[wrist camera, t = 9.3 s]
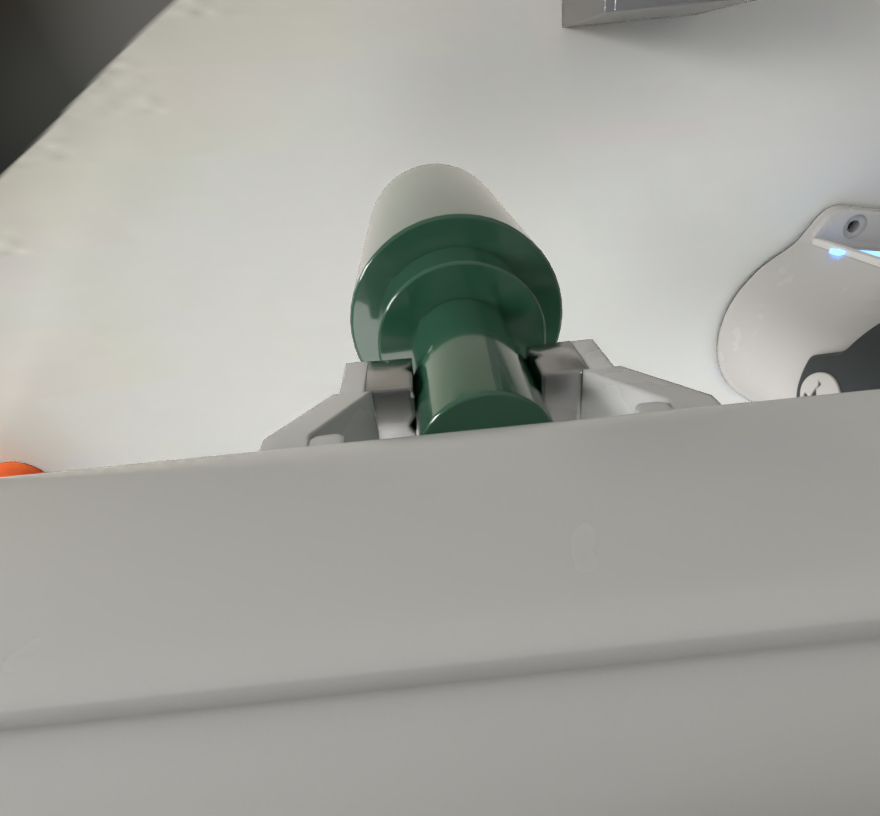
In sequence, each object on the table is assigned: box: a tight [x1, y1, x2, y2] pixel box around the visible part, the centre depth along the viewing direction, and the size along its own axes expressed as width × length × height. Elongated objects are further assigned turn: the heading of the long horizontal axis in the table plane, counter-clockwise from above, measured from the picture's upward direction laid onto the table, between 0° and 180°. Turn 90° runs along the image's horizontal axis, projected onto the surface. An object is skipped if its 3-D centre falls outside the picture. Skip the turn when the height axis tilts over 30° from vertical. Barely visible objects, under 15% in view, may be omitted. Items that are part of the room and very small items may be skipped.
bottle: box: [350, 164, 562, 435], centre depth 18 cm, size 6×6×18 cm
